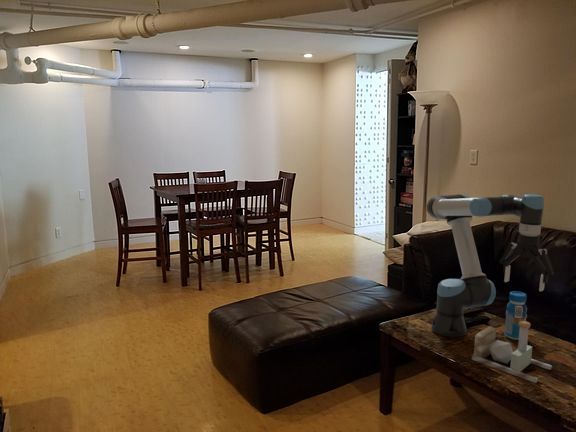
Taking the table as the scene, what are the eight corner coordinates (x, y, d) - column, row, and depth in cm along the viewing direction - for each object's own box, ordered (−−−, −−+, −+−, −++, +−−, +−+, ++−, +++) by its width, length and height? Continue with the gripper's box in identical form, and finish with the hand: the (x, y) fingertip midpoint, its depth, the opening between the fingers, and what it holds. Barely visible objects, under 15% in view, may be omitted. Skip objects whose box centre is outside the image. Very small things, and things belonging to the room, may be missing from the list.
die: (515, 361, 188) (505, 337, 192) (519, 360, 181) (508, 335, 184) (495, 367, 190) (485, 343, 194) (497, 366, 182) (487, 341, 186)
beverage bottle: (500, 335, 211) (503, 292, 207) (509, 330, 216) (513, 289, 212) (518, 342, 204) (522, 298, 201) (528, 336, 209) (532, 294, 206)
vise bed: (471, 359, 189) (473, 335, 187) (488, 347, 199) (490, 325, 197) (535, 383, 171) (538, 357, 169) (551, 369, 181) (553, 344, 179)
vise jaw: (508, 370, 180) (512, 325, 176) (521, 359, 188) (525, 317, 184) (519, 374, 177) (523, 329, 174) (532, 363, 185) (536, 320, 181)
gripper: (493, 229, 190) (488, 279, 194) (559, 241, 171) (553, 296, 176) (502, 227, 195) (497, 275, 199) (567, 238, 176) (561, 292, 181)
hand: (523, 285), depth 187 cm, fingers open, 13 cm apart
